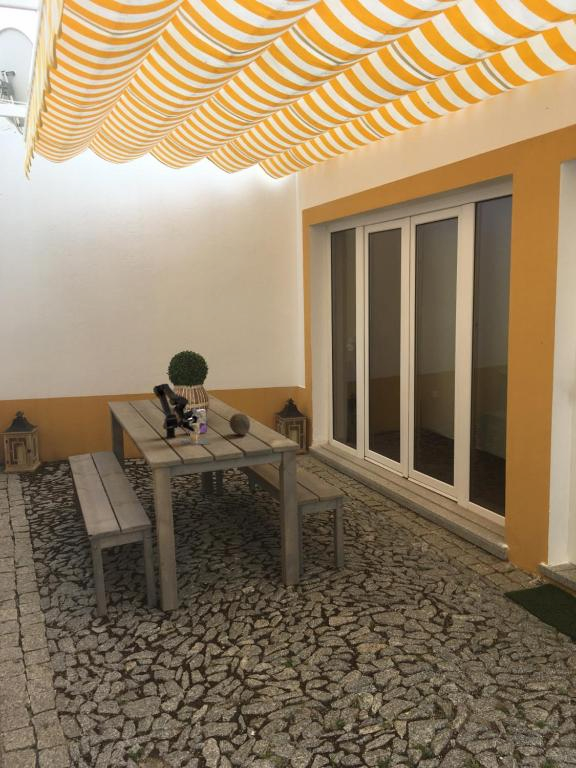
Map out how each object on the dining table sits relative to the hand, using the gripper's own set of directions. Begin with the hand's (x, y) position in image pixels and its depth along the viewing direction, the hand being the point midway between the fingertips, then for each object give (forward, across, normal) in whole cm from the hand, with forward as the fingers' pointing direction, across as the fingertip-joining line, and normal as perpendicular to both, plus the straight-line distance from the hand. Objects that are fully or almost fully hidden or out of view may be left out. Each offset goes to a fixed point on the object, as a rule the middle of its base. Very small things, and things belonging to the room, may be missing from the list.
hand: (196, 430), depth 422 cm
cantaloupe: (+17, +30, -4) cm, 35 cm away
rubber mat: (+5, 0, +7) cm, 8 cm away
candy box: (-6, +24, +18) cm, 31 cm away
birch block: (+5, 0, +7) cm, 8 cm away
